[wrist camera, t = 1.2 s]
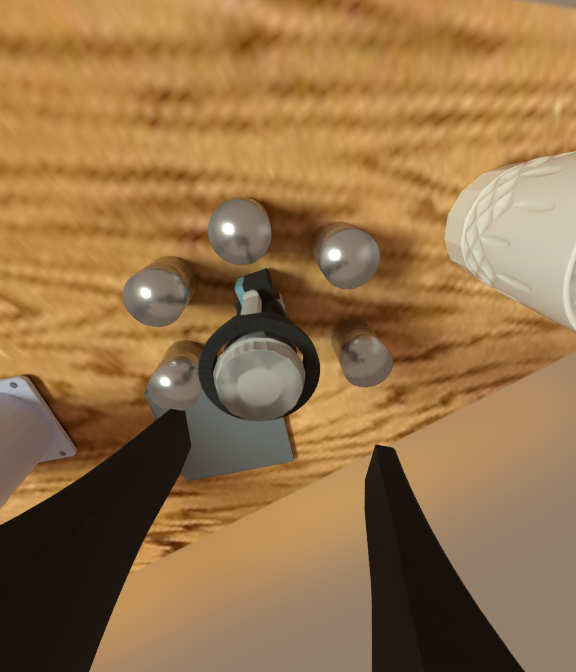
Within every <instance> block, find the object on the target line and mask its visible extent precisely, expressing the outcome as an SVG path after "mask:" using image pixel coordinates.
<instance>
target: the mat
mask: <svg viewBox="0 0 576 672" xmlns="http://www.w3.org/2000/svg"><path fill="white" fill-rule="evenodd" d="M144 395H145V397H146V399H147V401H148V403H149V405H150V407H151V409H152V411H153V413H154V415H155V417H156V419H158V418H159V417H161V416H162V415H163V414H164V413H165V412H167V411H168V410H166V409H163V408H161V407H159V406H158V405H156V404H155V403H154V402H153V401H152V400H151V398H150V397H149V394H148V391H146V392H145V394H144ZM182 411H185V412H186V418H187V424H188V429H189V435H190V441H191V449H190V451H189V454H188V456H187V459H186V461H185V464H184V466H183V468H182V473H183V475H184V477H185V479H186V481H192V480H197V479H202V478H208V477H213V476H218V475H223V474H229V473H234V472H239V471H245V470H250V469H255V468H261V467H266V466H271V465H277V464H282V463H287V462H292V461H294V456H293V452H292V448H291V444H290V440H289V436H288V432H287V428H286V424H285V420H284V417H282V418H279V419H275V420H270V421H248V420H243V419H239V418H236V417H233V416H231V415H229V414H227V413H225V412H223V411H222V410H220V409H219V408H217V407H216V406H215V405H214V404H213V403H212V402H211V401H210V400H209V399H208V397H207V396H206V394H205V393H204V391H203V389H202V388H201V391H200V395H199V398H198V400H197V402H196V403H195V404H194V405H193V406H192V407H190V408H188V409H186V410H182Z"/></svg>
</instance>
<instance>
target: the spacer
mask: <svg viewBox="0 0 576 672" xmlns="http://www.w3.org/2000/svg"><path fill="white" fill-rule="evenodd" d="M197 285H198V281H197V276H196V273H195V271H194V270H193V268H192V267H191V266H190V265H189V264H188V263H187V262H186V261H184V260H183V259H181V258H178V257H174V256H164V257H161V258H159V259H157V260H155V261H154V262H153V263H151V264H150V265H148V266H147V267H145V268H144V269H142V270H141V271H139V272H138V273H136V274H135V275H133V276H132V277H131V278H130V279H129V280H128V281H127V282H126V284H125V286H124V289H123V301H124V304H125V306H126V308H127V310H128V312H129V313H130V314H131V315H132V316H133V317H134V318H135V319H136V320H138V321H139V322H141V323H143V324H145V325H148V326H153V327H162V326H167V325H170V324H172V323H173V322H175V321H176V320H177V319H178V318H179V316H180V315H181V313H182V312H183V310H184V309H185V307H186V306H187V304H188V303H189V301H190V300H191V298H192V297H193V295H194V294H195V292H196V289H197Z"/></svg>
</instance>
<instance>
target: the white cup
mask: <svg viewBox="0 0 576 672" xmlns="http://www.w3.org/2000/svg"><path fill="white" fill-rule="evenodd" d="M444 241H445V244H446V248H447V251H448V254H449V257H450V260H452V261H453V262H454V263H455V264H456V265H457V266H459V267H460V268H461V269H462V270H463V271H464V272H466V273H468V274H470V275H472V276H474V277H476V278H478V279H479V280H480V281H481V282H483V283H484V284H486V285H488V286H489V287H491V288H493V289H495V290H497V291H498V292H500V293H502V294H503V295H505V296H507V297H508V298H510V299H512V300H514V301H516V302H518V303H520V304H522V305H523V306H525V307H527V308H529V309H531V310H533V311H535V312H537V313H539V314H540V315H542V316H544V317H546V318H548V319H550V320H552V321H554V322H556V323H557V324H559V325H561V326H563V327H565V328H567V329H569V330H570V331H572V332H574V333H576V151H574V152H569V153H564V154H559V155H553V156H547V157H542V158H537V159H533V160H530V161H527V162H522V163H515V164H509V165H506V166H503V167H499V168H496V169H493V170H490V171H487V172H484V173H482V174H481V175H480V176H479V177H478V178H476V179H475V180H474V181H473V182H472V183H471V184H469V185H468V186H467V187H466V188H465V189H463V190H462V191H461V193H460V195H459V196H458V198H457V200H456V202H455V203H454V205H453V207H452V208H451V210H450V212H449V214H448V216H447V222H446V229H445V235H444Z"/></svg>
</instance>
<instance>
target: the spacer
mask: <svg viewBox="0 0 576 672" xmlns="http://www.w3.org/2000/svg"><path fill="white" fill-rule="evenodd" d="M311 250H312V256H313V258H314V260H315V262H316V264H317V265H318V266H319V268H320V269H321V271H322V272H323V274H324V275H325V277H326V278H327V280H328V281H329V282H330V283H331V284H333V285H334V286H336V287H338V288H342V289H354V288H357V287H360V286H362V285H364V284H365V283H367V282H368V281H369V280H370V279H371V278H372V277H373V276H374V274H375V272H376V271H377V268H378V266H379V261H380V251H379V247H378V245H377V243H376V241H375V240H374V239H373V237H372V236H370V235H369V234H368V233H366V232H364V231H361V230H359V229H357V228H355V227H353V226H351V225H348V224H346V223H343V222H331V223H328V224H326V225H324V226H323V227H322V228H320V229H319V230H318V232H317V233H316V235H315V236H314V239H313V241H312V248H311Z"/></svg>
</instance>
